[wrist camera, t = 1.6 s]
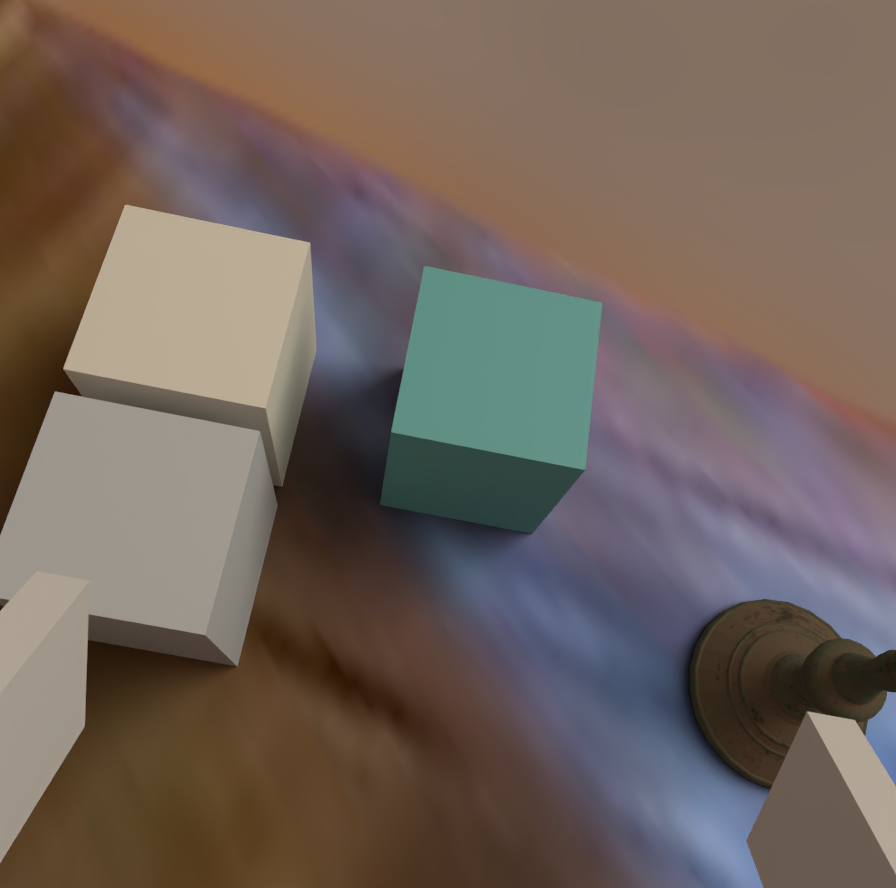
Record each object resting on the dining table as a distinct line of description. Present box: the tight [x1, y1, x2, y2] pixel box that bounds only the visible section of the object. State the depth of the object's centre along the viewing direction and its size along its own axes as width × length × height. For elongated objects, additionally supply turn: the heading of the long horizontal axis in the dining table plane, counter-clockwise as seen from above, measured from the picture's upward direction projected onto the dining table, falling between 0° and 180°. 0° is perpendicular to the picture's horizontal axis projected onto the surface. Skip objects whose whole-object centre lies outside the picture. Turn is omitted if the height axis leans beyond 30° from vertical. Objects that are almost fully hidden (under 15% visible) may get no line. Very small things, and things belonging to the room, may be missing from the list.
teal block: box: [380, 266, 602, 534], centre depth 39 cm, size 8×8×10 cm
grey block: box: [0, 392, 278, 666], centre depth 35 cm, size 8×8×10 cm
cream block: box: [63, 205, 316, 487], centre depth 39 cm, size 8×8×10 cm
